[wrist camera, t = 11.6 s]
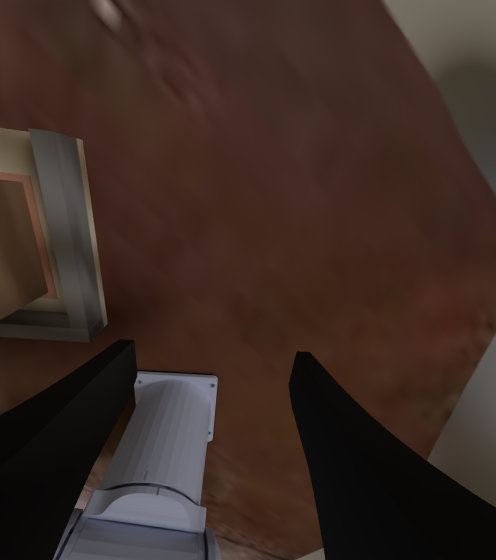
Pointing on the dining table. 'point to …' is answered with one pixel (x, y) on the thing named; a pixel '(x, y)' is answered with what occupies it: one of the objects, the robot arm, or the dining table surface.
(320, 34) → the dining table surface
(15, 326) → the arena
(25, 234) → the walnut block
